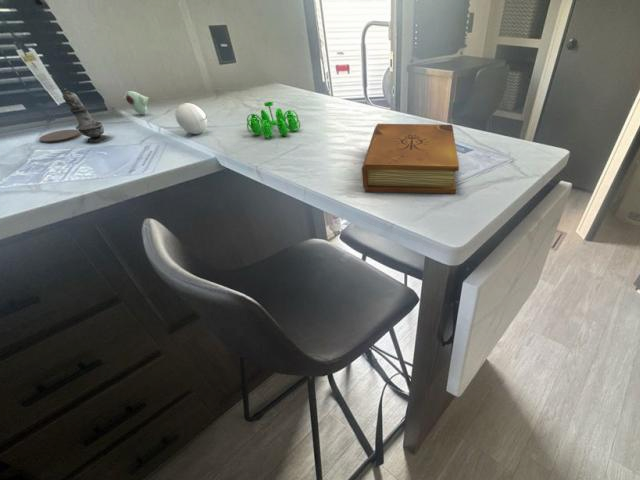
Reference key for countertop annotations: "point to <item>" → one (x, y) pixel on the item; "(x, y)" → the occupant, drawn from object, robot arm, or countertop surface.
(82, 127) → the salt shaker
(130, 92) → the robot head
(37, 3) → the robot arm
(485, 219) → the countertop surface
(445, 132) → the diary
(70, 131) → the coaster
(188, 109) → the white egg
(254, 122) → the chandelier
